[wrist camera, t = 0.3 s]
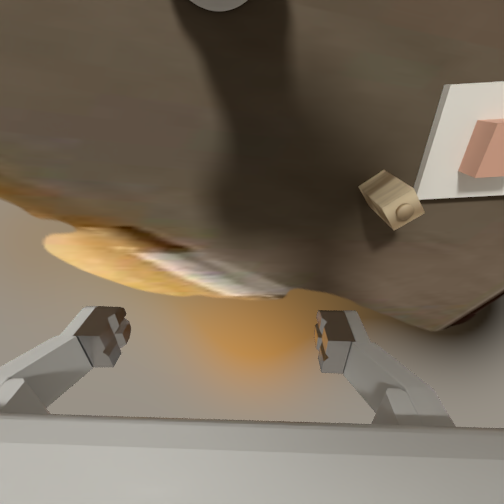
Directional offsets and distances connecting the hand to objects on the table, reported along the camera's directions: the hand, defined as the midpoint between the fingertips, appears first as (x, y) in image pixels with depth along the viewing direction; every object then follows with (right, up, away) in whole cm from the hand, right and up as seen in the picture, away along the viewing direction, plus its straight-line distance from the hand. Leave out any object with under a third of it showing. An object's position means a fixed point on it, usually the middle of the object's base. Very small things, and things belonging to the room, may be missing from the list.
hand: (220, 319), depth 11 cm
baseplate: (+41, +21, +33) cm, 57 cm away
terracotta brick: (+41, +21, +32) cm, 56 cm away
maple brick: (+25, +15, +37) cm, 47 cm away
